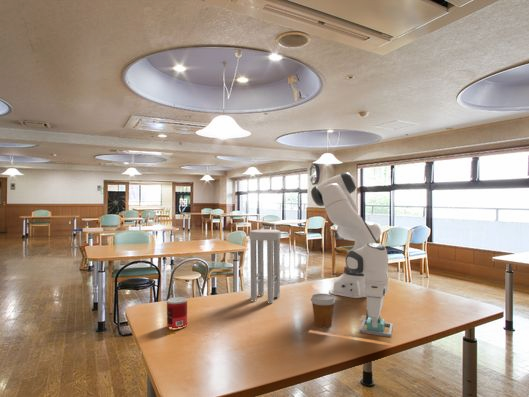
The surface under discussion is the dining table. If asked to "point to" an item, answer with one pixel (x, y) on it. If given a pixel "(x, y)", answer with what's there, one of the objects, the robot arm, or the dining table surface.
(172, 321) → the canned food
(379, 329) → the ring
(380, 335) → the tray
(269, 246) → the stool
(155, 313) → the dining table surface
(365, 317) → the stake
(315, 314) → the disposable coffee cup
